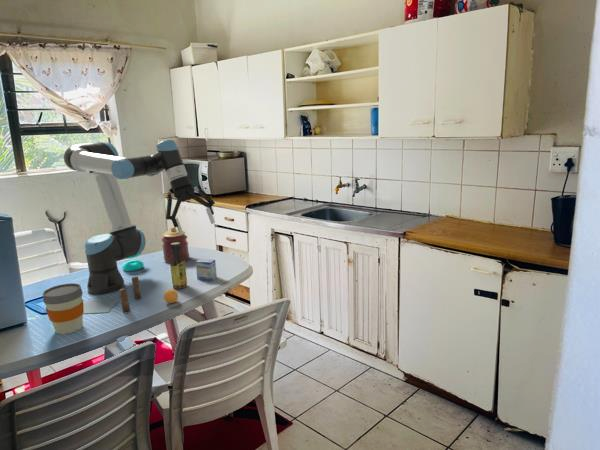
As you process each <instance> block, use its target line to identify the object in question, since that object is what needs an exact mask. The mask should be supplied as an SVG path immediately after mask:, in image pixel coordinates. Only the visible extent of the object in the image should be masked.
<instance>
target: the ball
mask: <svg viewBox="0 0 600 450" xmlns="http://www.w3.org/2000/svg"><path fill="white" fill-rule="evenodd" d="M163 299H164V301H165V302H166V303H167V304H174V303H176V302H177V300H178V299H179V294H178V292H177V291H176V289H174V288H173V289H172V288H171V289H168V290H166V291H165V292H164V294H163Z"/></svg>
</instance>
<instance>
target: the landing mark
mask: <svg viewBox="0 0 600 450" xmlns="http://www.w3.org/2000/svg"><path fill="white" fill-rule="evenodd" d="M119 302H121V297H111V298H110V297H108V298H107V297H106V298H105V297H104V298H90V299H89V298H88V299H87V300H86V301H85V302H83V306H84V313H83V315H86V314H87V313H91V314H107V313H109V312H110V311H111V310H112V309H113V308H114V307H115V306H116V305H117V304H118V303H119ZM87 315H88V314H87Z"/></svg>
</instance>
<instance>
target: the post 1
mask: <svg viewBox="0 0 600 450" xmlns="http://www.w3.org/2000/svg"><path fill="white" fill-rule="evenodd" d="M119 296H120V297H119V298H121V300H120V303H121V309H122V313H125V312H126V313H129V312H131V309H130V307H131V306H130V302H129V295H128V290H127V288H125V287H124V288H123V287H122V288H120V289H119ZM126 313H125V314H126Z"/></svg>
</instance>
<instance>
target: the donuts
mask: <svg viewBox="0 0 600 450" xmlns="http://www.w3.org/2000/svg"><path fill="white" fill-rule="evenodd" d="M141 254H142V252H141V253H139V254H137V255H135V256H131V257H128V258H127V259H130V260H129V261H126V262H124V263H122V270H124V271H125V272H133V271H138V270H141V269H142V268H143V267H144V262H143V261H142V260H139V259H133V258H137V257H139V256H140V255H141ZM131 259H132V260H131Z"/></svg>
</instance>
